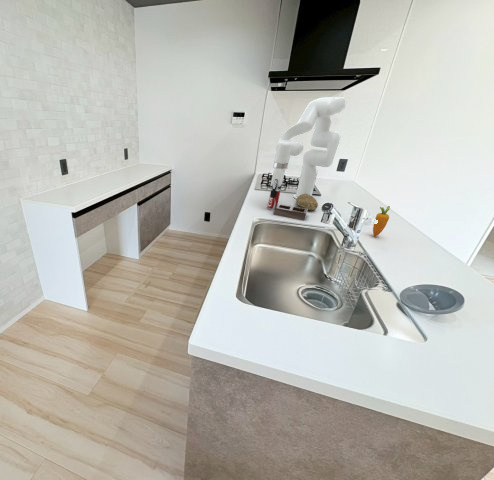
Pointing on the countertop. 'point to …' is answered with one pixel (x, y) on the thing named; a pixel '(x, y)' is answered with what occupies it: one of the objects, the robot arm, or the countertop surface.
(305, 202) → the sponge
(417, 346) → the countertop surface
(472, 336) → the countertop surface
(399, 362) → the countertop surface
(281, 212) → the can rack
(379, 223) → the carrot
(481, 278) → the countertop surface
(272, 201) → the soda can
